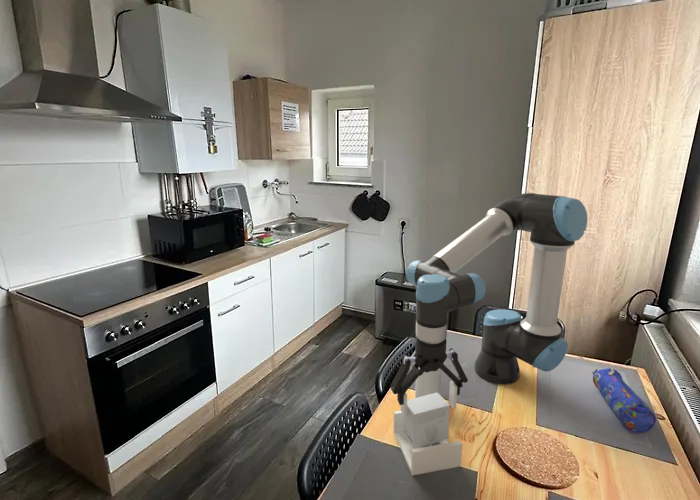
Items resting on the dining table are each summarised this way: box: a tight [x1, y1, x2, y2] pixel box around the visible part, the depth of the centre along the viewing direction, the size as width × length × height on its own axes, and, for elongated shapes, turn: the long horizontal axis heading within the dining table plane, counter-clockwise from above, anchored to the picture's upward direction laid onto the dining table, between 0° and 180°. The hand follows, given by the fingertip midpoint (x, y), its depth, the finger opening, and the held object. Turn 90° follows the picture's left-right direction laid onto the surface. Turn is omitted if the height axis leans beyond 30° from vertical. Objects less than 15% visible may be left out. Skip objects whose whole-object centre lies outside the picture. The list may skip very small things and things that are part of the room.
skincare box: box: [403, 392, 451, 449], centre depth 100 cm, size 10×6×10 cm, turn 109°
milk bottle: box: [414, 367, 442, 398], centre depth 120 cm, size 8×8×20 cm
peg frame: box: [392, 410, 463, 476], centre depth 101 cm, size 13×15×7 cm
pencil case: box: [592, 367, 657, 434], centre depth 115 cm, size 22×9×10 cm, turn 169°
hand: (428, 409), depth 99 cm, fingers open, 13 cm apart
